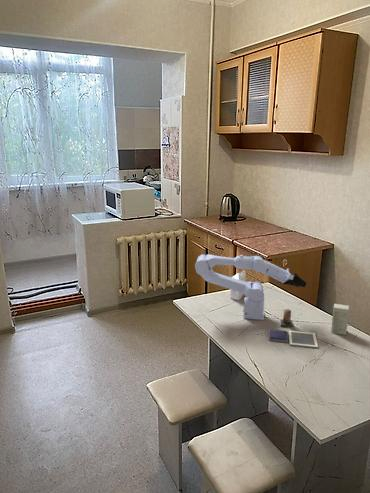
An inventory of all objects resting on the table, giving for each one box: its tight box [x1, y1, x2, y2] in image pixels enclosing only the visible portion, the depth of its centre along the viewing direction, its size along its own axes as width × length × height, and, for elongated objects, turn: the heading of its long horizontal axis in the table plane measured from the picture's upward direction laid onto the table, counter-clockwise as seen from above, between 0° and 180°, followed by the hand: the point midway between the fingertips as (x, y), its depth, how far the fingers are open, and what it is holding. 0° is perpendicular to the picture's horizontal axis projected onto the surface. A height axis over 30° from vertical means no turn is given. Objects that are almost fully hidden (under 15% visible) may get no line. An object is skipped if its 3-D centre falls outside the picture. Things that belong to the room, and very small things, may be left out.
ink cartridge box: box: [230, 269, 246, 301], centre depth 196 cm, size 9×5×15 cm, turn 148°
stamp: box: [280, 308, 294, 329], centre depth 168 cm, size 5×5×7 cm
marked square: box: [287, 330, 319, 349], centre depth 156 cm, size 11×11×1 cm
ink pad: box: [267, 329, 289, 344], centre depth 158 cm, size 8×7×2 cm
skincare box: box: [330, 303, 350, 336], centre depth 161 cm, size 6×4×12 cm
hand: (302, 285), depth 169 cm, fingers open, 7 cm apart
